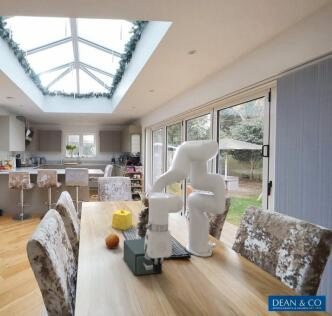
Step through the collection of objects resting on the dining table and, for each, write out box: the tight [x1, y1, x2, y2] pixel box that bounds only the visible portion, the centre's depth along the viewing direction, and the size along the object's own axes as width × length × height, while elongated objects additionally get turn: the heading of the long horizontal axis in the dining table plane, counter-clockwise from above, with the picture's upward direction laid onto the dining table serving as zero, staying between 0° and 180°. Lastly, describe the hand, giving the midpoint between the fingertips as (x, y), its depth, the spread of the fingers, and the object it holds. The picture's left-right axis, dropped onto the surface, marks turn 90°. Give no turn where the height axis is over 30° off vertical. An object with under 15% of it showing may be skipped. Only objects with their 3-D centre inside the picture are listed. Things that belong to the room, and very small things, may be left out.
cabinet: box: [123, 238, 151, 276], centre depth 96 cm, size 15×13×9 cm
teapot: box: [111, 209, 133, 231], centre depth 148 cm, size 20×12×12 cm, turn 150°
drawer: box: [136, 256, 164, 276], centre depth 92 cm, size 18×11×7 cm, turn 12°
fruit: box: [104, 233, 120, 249], centre depth 115 cm, size 8×8×8 cm
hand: (157, 272), depth 82 cm, fingers closed
